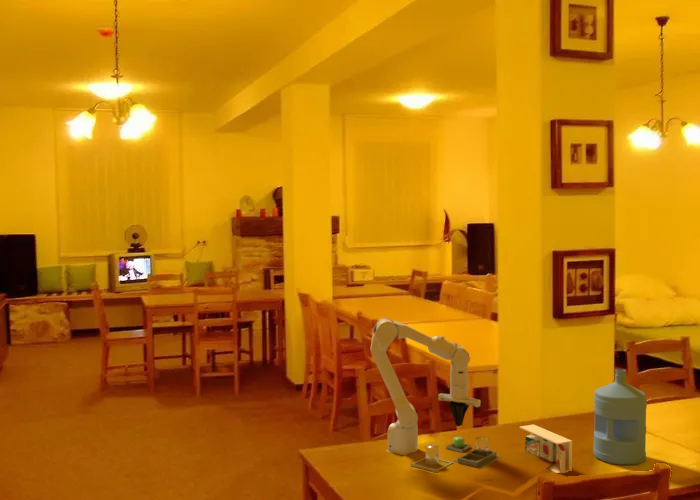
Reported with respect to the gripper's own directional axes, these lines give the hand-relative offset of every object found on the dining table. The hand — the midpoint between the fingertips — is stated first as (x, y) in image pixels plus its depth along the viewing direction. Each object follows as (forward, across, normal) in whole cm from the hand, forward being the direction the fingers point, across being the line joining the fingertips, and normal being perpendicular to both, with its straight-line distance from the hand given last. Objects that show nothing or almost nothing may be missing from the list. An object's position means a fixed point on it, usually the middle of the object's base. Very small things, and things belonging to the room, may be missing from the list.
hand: (458, 425), depth 240 cm
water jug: (+9, -43, -26) cm, 51 cm away
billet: (+8, -1, +18) cm, 20 cm away
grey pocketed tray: (+9, -10, +6) cm, 15 cm away
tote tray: (+9, -1, +18) cm, 20 cm away
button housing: (+9, 0, 0) cm, 9 cm away
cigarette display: (+9, -27, -7) cm, 29 cm away
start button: (+7, 0, 0) cm, 7 cm away
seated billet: (+8, -10, +3) cm, 13 cm away
